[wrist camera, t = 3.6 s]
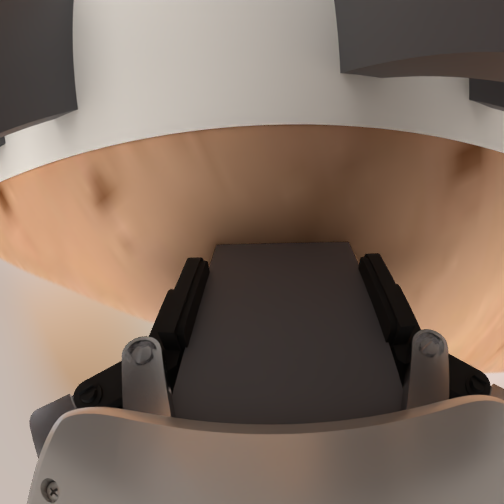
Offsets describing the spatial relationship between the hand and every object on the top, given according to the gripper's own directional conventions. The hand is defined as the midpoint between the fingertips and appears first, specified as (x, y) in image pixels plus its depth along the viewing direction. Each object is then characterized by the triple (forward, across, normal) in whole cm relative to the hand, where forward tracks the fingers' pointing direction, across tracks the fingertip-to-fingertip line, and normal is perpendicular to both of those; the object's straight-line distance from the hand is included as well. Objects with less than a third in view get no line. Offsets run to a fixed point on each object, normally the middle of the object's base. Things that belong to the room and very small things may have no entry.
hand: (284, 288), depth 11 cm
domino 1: (+1, +9, -11) cm, 14 cm away
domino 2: (+2, 0, 0) cm, 2 cm away
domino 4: (+1, -9, -11) cm, 14 cm away
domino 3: (+1, -3, -11) cm, 11 cm away
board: (+2, +3, -11) cm, 12 cm away
